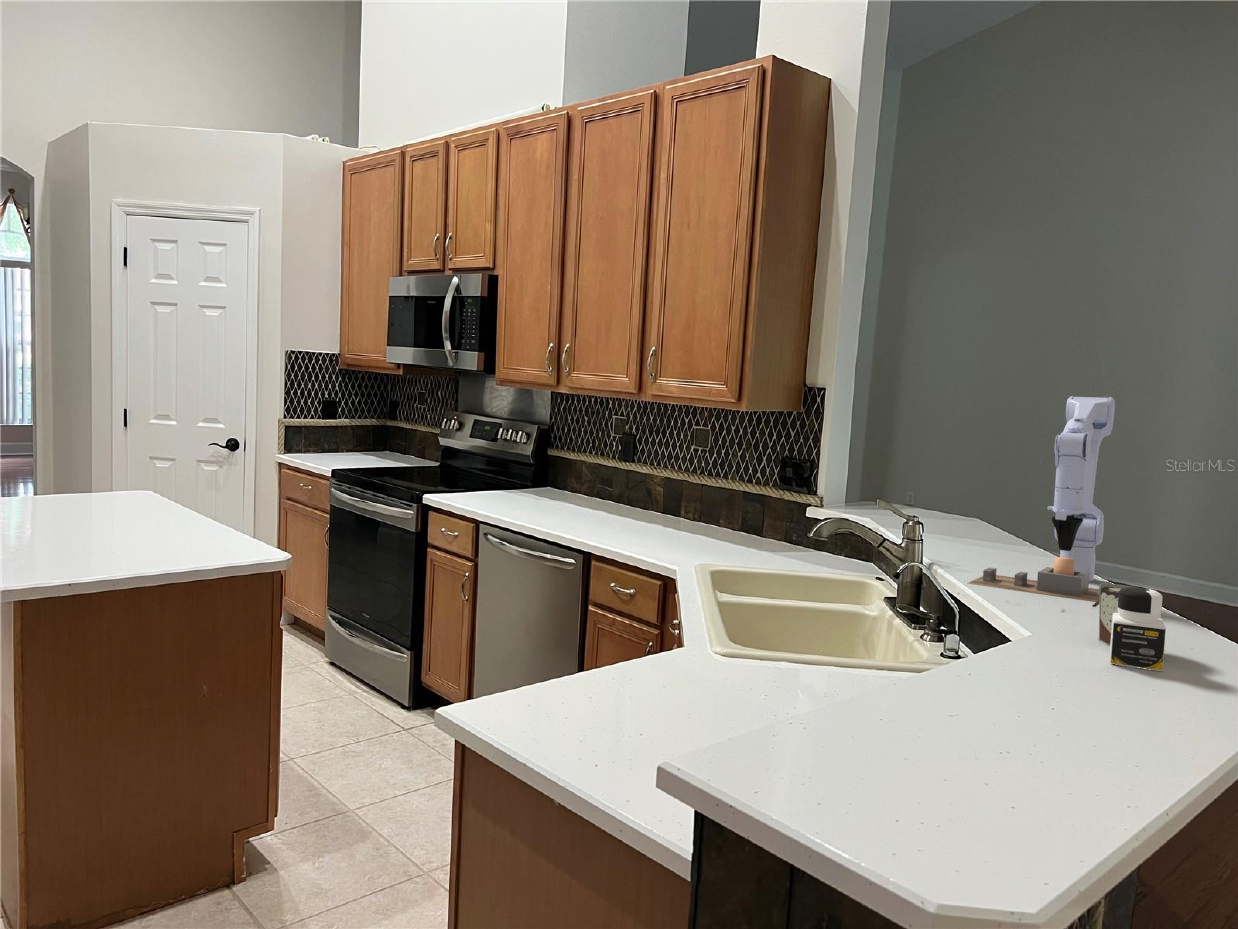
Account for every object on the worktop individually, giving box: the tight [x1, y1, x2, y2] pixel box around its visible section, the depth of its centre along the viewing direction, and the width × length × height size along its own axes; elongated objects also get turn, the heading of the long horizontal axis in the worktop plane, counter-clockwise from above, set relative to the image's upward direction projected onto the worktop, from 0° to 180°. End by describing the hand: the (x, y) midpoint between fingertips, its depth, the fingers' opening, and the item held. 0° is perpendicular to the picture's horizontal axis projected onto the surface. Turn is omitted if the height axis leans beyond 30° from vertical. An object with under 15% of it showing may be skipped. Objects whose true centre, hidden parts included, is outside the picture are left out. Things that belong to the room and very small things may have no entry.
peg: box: [1053, 556, 1075, 576], centre depth 198 cm, size 4×4×7 cm
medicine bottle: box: [1109, 586, 1167, 672], centre depth 144 cm, size 7×7×12 cm
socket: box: [1036, 566, 1090, 596], centre depth 198 cm, size 9×9×4 cm
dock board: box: [966, 567, 1100, 608], centre depth 201 cm, size 16×26×4 cm, turn 52°
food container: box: [1098, 582, 1132, 647], centre depth 154 cm, size 12×6×10 cm, turn 179°
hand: (1065, 550), depth 197 cm, fingers closed
